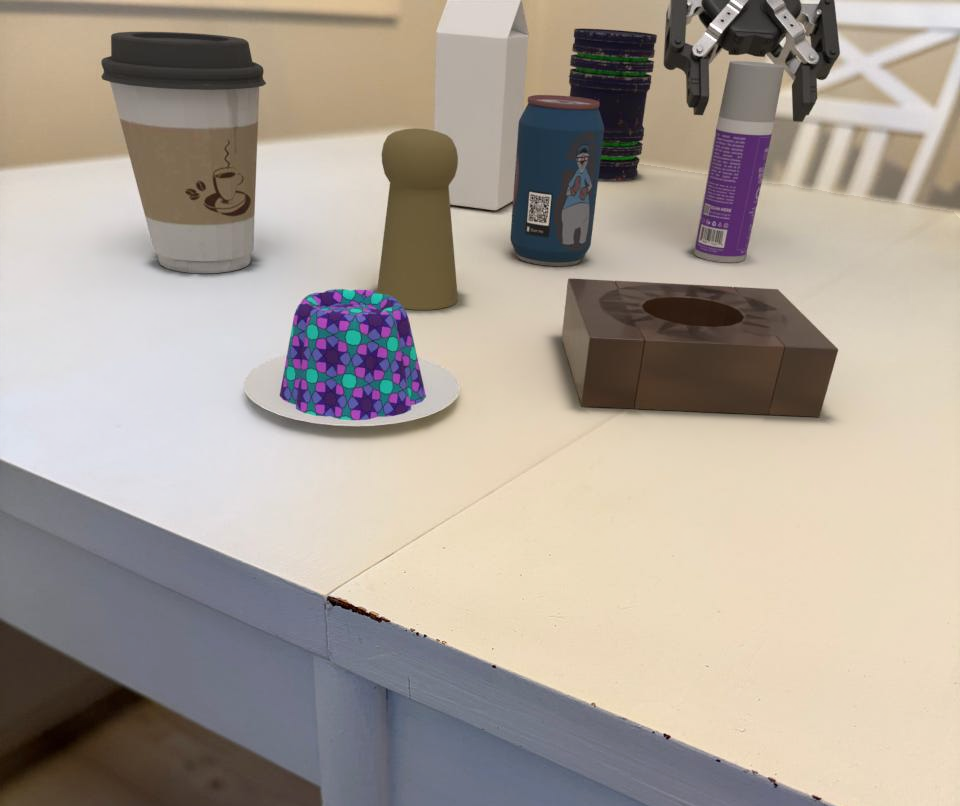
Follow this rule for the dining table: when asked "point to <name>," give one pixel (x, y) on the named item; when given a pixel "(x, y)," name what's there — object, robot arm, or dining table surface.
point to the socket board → (694, 349)
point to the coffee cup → (190, 142)
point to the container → (738, 160)
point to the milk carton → (481, 96)
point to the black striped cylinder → (615, 92)
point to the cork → (419, 220)
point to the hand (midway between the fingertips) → (752, 111)
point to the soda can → (556, 179)
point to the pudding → (351, 365)
